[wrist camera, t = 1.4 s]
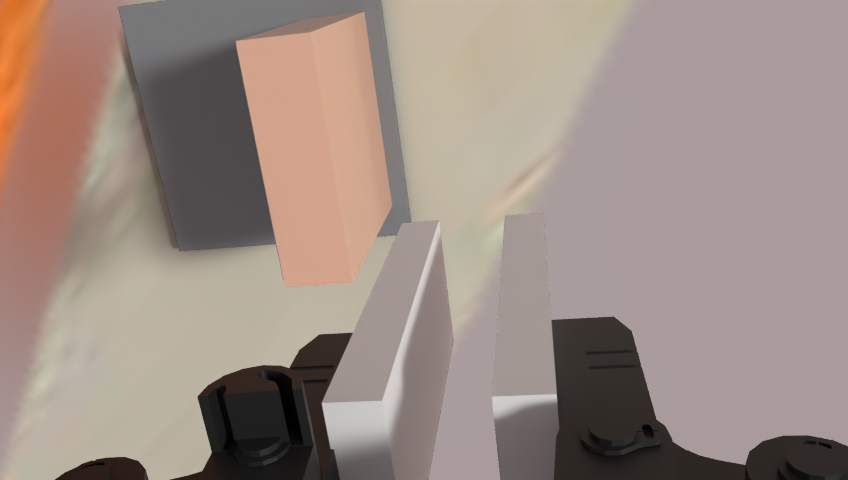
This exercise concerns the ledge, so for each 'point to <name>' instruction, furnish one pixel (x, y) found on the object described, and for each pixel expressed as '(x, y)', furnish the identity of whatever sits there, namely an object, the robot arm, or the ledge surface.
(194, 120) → the mat
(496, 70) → the ledge surface
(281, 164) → the block
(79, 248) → the ledge surface
